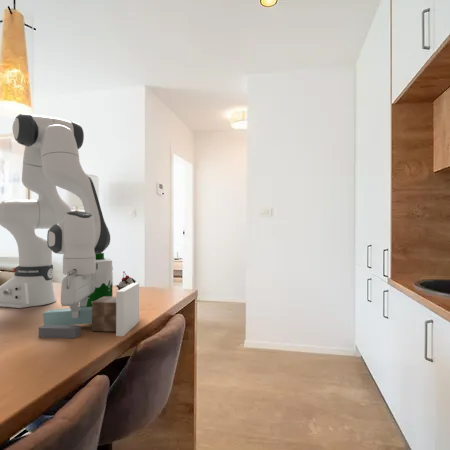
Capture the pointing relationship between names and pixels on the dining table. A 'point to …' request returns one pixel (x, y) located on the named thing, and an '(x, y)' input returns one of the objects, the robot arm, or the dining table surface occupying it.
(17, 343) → the dining table surface
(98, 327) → the block
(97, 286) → the milk carton
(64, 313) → the peg
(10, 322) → the dining table surface
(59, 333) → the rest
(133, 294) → the wall
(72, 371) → the dining table surface
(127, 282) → the sundae
